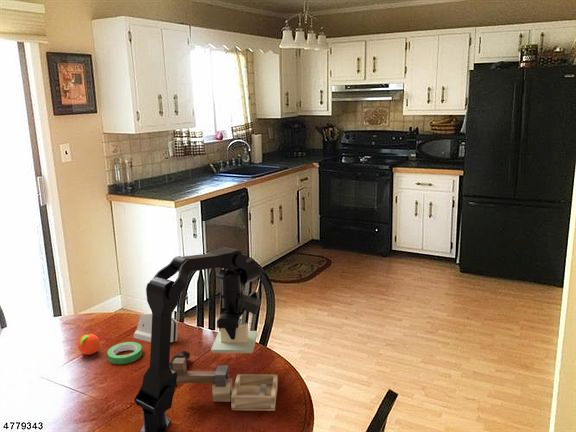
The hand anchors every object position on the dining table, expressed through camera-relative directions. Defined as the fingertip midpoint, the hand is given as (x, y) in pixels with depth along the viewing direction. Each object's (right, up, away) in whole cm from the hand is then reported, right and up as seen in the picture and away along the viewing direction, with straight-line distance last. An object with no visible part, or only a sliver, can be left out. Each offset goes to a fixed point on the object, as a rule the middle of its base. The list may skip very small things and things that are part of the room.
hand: (233, 336), depth 155 cm
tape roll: (-39, -11, +17) cm, 43 cm away
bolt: (-19, -13, +7) cm, 24 cm away
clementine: (-52, -11, +18) cm, 56 cm away
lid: (0, -2, 0) cm, 2 cm away
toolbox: (+4, -15, -9) cm, 18 cm away
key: (-10, -10, -9) cm, 17 cm away
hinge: (-31, -8, +29) cm, 43 cm away
